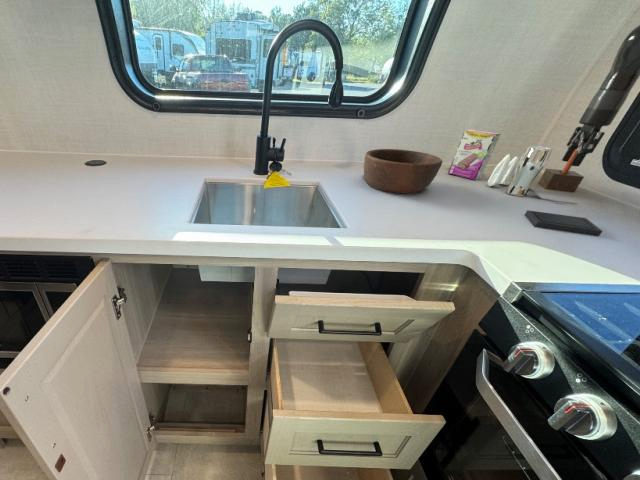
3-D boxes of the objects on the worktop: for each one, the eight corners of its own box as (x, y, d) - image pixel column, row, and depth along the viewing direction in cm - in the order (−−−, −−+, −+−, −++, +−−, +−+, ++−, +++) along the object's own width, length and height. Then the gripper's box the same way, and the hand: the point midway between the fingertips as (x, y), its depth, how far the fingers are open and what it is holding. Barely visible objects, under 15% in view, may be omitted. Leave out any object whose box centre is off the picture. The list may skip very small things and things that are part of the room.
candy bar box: (446, 174, 132) (464, 130, 122) (452, 172, 134) (470, 129, 124) (474, 180, 124) (495, 134, 114) (480, 179, 126) (501, 133, 117)
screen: (580, 220, 89) (581, 218, 89) (592, 230, 83) (594, 228, 83) (532, 214, 92) (534, 212, 92) (541, 223, 87) (542, 221, 86)
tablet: (582, 223, 90) (586, 218, 89) (598, 236, 82) (602, 231, 82) (524, 214, 94) (527, 210, 93) (534, 227, 87) (537, 221, 86)
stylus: (554, 192, 114) (579, 150, 105) (555, 193, 112) (581, 151, 104) (548, 191, 114) (573, 149, 106) (550, 193, 113) (575, 150, 105)
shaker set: (493, 189, 115) (509, 156, 109) (482, 186, 118) (496, 154, 112) (510, 185, 120) (527, 153, 114) (499, 182, 123) (514, 151, 117)
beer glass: (503, 189, 115) (526, 144, 106) (527, 193, 112) (552, 147, 103) (503, 194, 111) (527, 147, 102) (527, 198, 107) (554, 150, 98)
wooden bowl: (411, 177, 127) (420, 149, 120) (445, 197, 106) (458, 165, 100) (350, 176, 126) (356, 148, 120) (373, 196, 106) (382, 164, 99)
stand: (561, 191, 115) (574, 171, 111) (570, 197, 109) (584, 176, 105) (535, 188, 118) (546, 168, 113) (542, 194, 111) (554, 173, 107)
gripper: (631, 110, 91) (592, 169, 101) (608, 106, 102) (574, 160, 112) (599, 108, 93) (564, 166, 103) (579, 104, 104) (549, 158, 114)
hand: (569, 163), depth 107 cm, fingers open, 7 cm apart
